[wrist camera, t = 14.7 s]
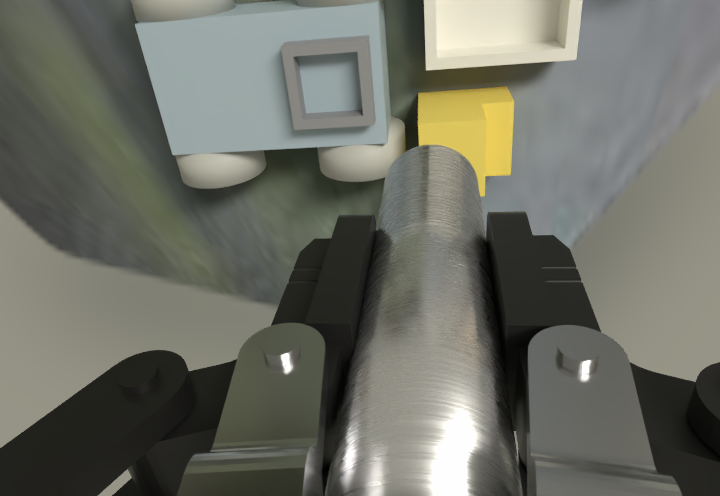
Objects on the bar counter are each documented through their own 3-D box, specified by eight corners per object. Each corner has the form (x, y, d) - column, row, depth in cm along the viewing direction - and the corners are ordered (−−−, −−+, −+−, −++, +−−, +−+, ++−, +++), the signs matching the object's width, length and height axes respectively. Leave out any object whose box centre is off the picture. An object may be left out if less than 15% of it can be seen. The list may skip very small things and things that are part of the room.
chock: (421, 159, 40) (421, 198, 35) (418, 92, 38) (417, 123, 32) (503, 155, 40) (517, 194, 34) (506, 86, 37) (521, 117, 32)
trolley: (198, 156, 42) (161, 198, 36) (149, -33, 35) (92, -20, 29) (407, 145, 40) (405, 187, 34) (397, -58, 33) (392, -50, 27)
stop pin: (370, 245, 15) (265, 777, 6) (359, 128, 13) (186, 628, 4) (495, 243, 15) (594, 822, 5) (501, 121, 13) (662, 675, 4)
